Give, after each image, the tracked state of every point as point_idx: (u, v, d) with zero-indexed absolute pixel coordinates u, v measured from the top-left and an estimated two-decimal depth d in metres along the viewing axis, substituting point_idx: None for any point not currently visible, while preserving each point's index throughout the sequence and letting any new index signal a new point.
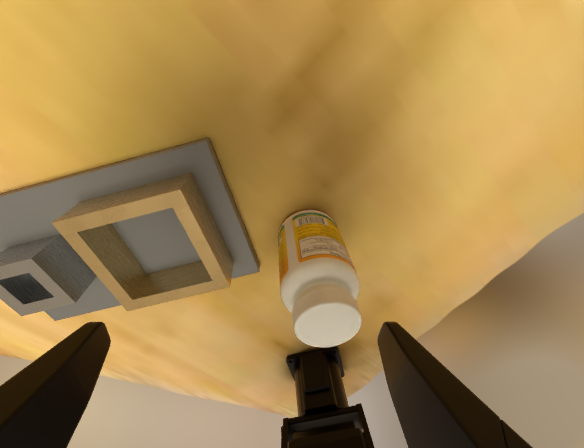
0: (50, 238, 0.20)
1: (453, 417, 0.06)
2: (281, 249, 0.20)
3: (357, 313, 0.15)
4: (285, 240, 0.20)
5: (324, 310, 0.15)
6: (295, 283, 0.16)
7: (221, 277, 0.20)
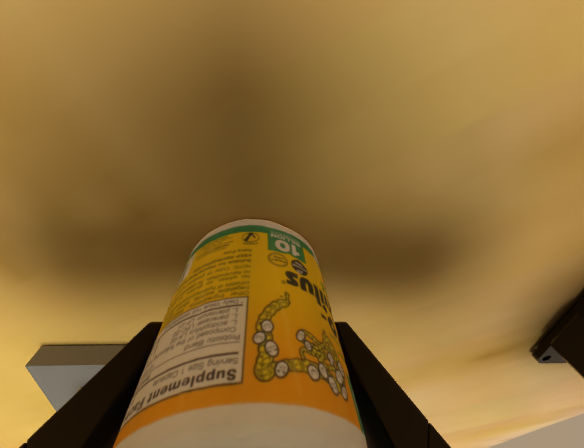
0: None
1: (381, 421, 0.06)
2: None
3: None
4: None
5: None
6: None
7: None
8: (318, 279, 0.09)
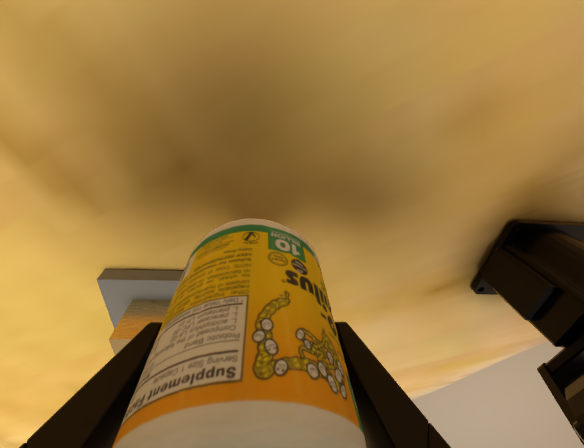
0: None
1: (380, 420, 0.06)
2: None
3: None
4: None
5: None
6: None
7: None
8: (318, 278, 0.09)
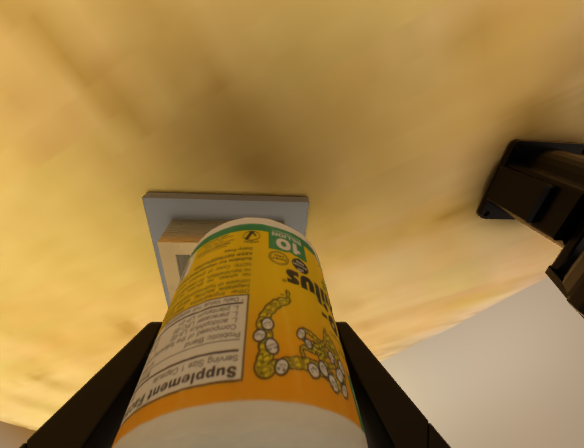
0: None
1: (381, 421, 0.06)
2: None
3: None
4: None
5: None
6: None
7: None
8: (319, 278, 0.09)
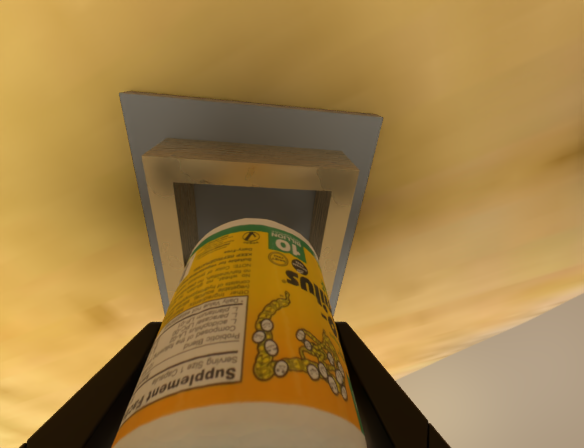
0: None
1: (381, 421, 0.06)
2: None
3: None
4: None
5: None
6: None
7: (332, 174, 0.11)
8: (319, 279, 0.09)
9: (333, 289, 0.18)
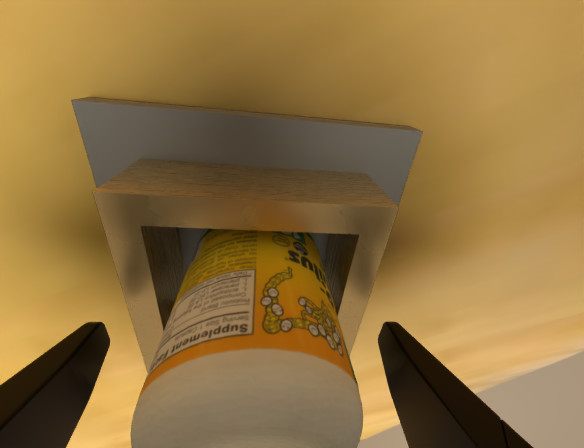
0: None
1: (454, 417, 0.06)
2: None
3: None
4: None
5: None
6: None
7: (361, 213, 0.08)
8: (317, 260, 0.09)
9: None
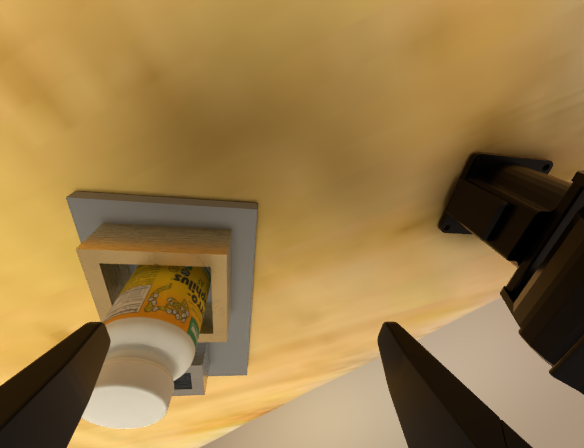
0: None
1: (453, 417, 0.06)
2: None
3: (98, 389, 0.11)
4: None
5: (87, 410, 0.12)
6: None
7: (208, 257, 0.16)
8: (197, 278, 0.18)
9: (245, 319, 0.24)
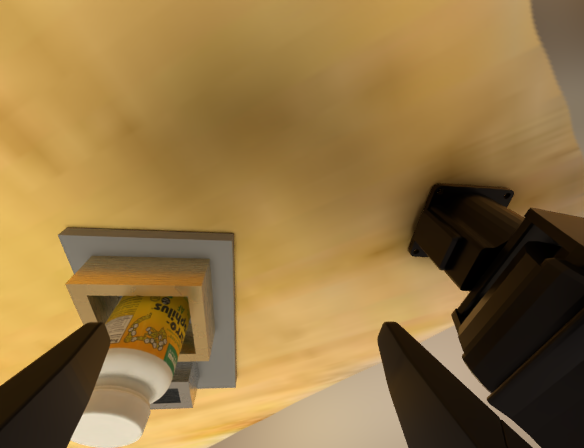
0: None
1: (453, 417, 0.06)
2: None
3: None
4: None
5: None
6: None
7: (184, 288, 0.18)
8: (177, 305, 0.20)
9: (229, 337, 0.26)
